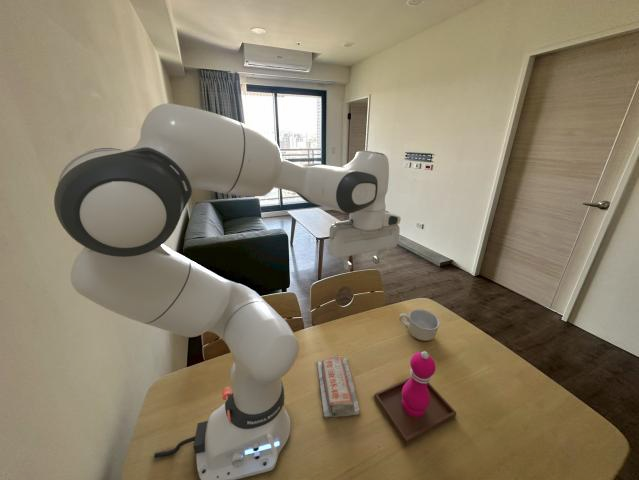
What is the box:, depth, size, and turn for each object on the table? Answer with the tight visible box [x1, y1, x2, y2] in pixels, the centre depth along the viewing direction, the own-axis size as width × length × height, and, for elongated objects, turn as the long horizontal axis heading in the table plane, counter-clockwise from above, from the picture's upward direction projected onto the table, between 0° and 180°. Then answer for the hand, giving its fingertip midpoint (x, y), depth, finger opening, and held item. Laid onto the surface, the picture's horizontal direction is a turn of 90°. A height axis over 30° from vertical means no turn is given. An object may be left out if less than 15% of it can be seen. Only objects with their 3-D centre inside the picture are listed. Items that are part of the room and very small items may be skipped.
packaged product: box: [317, 355, 361, 419], centre depth 75 cm, size 18×5×10 cm
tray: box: [373, 377, 457, 446], centre depth 70 cm, size 17×13×2 cm
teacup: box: [398, 308, 441, 342], centre depth 96 cm, size 14×11×8 cm
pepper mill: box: [402, 351, 437, 417], centre depth 66 cm, size 7×7×20 cm
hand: (362, 265), depth 69 cm, fingers open, 8 cm apart
